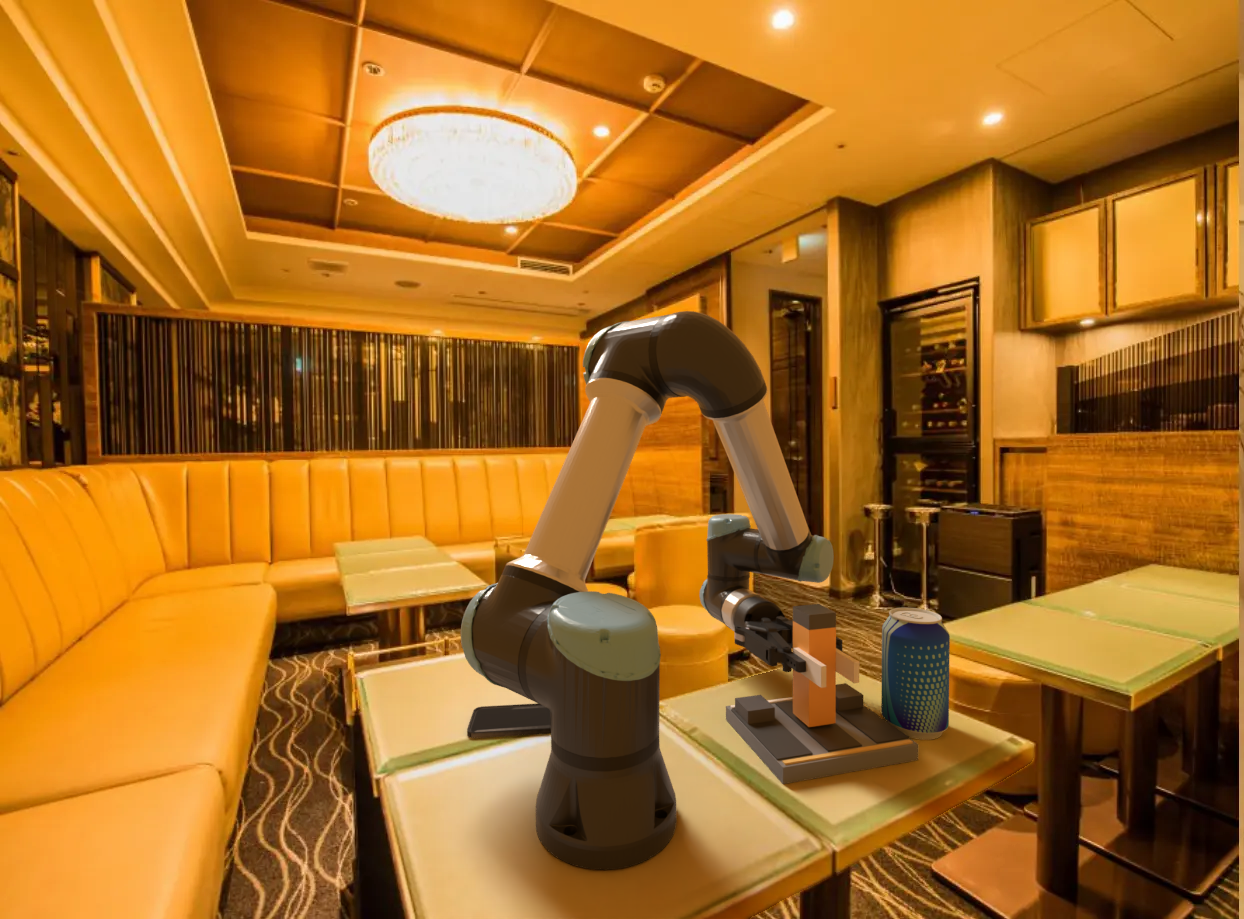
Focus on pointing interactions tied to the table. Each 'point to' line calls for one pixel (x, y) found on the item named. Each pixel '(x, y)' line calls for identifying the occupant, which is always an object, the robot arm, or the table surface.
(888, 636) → the beer can
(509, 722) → the phone
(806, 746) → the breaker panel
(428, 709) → the table surface
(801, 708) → the orange lever
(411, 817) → the table surface
